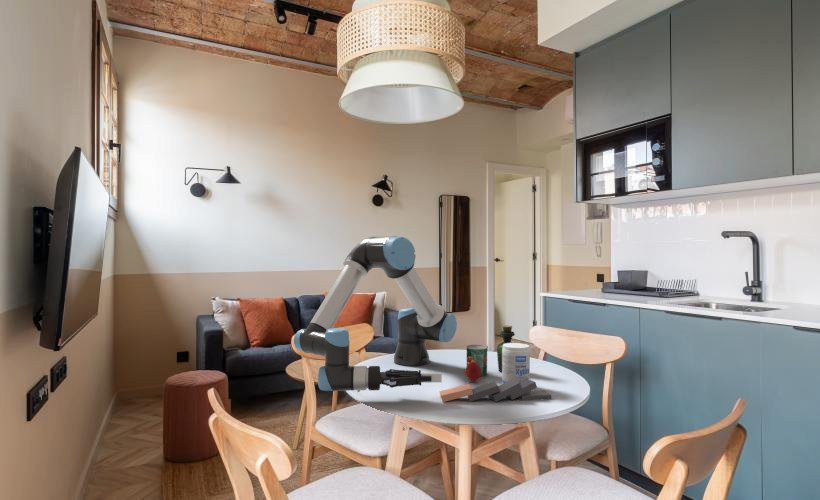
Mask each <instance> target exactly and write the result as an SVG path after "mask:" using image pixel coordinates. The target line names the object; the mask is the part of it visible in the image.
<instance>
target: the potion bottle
mask: <svg viewBox="0 0 820 500" xmlns="http://www.w3.org/2000/svg"><path fill="white" fill-rule="evenodd" d="M512 329H513V326H512V325H502V330H501V331H500V333H499V336H501V337H502V342H500V343H498V344H497V346H496V352H497V353H496V354H497V355H496V356H497V366H498V372H499V373H501V374H502V348H503V344H505V343H513V342H512V338H513V337H515V332H514V331H512Z"/></svg>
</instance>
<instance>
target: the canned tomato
mask: <svg viewBox="0 0 820 500" xmlns="http://www.w3.org/2000/svg"><path fill="white" fill-rule="evenodd" d="M471 360H473V361H474V362H475V363H476V364H478V366H479V367H480V369H481V376H480V378H479V379H485V378H487V377H488V346H486V345H482V344H468V345H466V367H467V366H468V365H469V364H470V363H471Z"/></svg>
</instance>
